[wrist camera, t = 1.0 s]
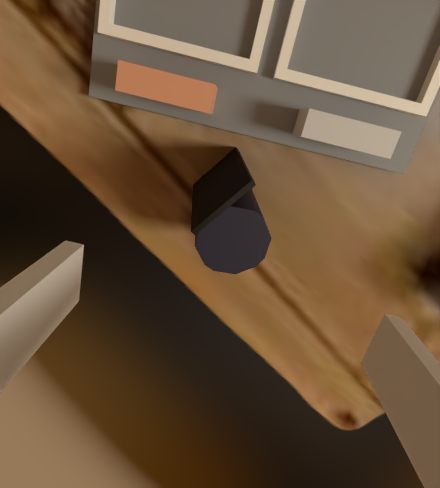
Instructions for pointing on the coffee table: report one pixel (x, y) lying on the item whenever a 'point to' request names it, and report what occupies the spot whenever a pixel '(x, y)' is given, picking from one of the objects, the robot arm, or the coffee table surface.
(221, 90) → the dock board
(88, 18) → the coffee table surface
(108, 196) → the coffee table surface
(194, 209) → the speaker
